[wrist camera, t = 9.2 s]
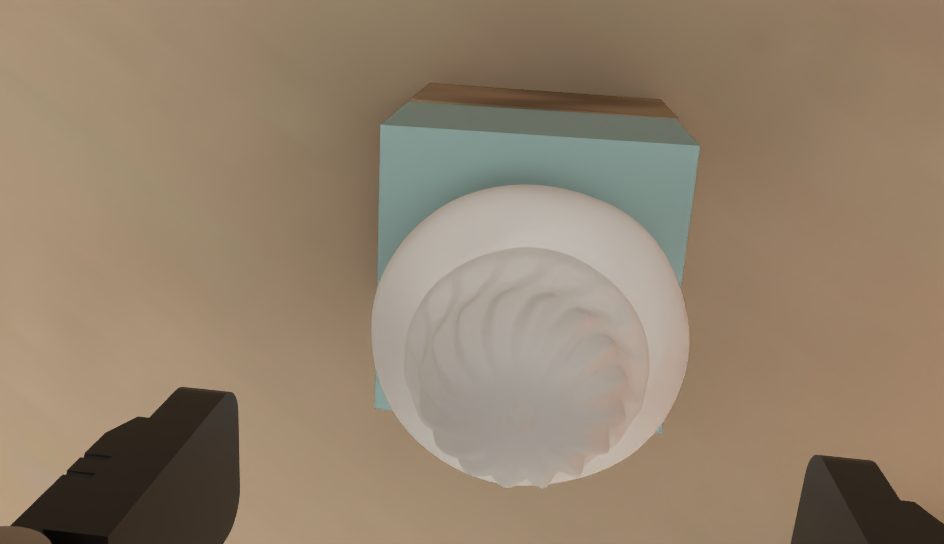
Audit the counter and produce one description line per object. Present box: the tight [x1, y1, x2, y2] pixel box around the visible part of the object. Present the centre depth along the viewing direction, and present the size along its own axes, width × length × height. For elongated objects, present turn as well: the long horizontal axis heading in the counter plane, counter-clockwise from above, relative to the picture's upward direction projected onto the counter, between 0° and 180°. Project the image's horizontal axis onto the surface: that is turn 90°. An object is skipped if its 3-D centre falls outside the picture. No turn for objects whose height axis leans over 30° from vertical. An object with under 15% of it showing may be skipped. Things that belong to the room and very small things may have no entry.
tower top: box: [375, 102, 700, 434], centre depth 22 cm, size 7×7×4 cm
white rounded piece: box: [371, 184, 689, 488], centre depth 17 cm, size 6×6×7 cm
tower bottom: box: [411, 83, 678, 121], centre depth 26 cm, size 7×7×4 cm
